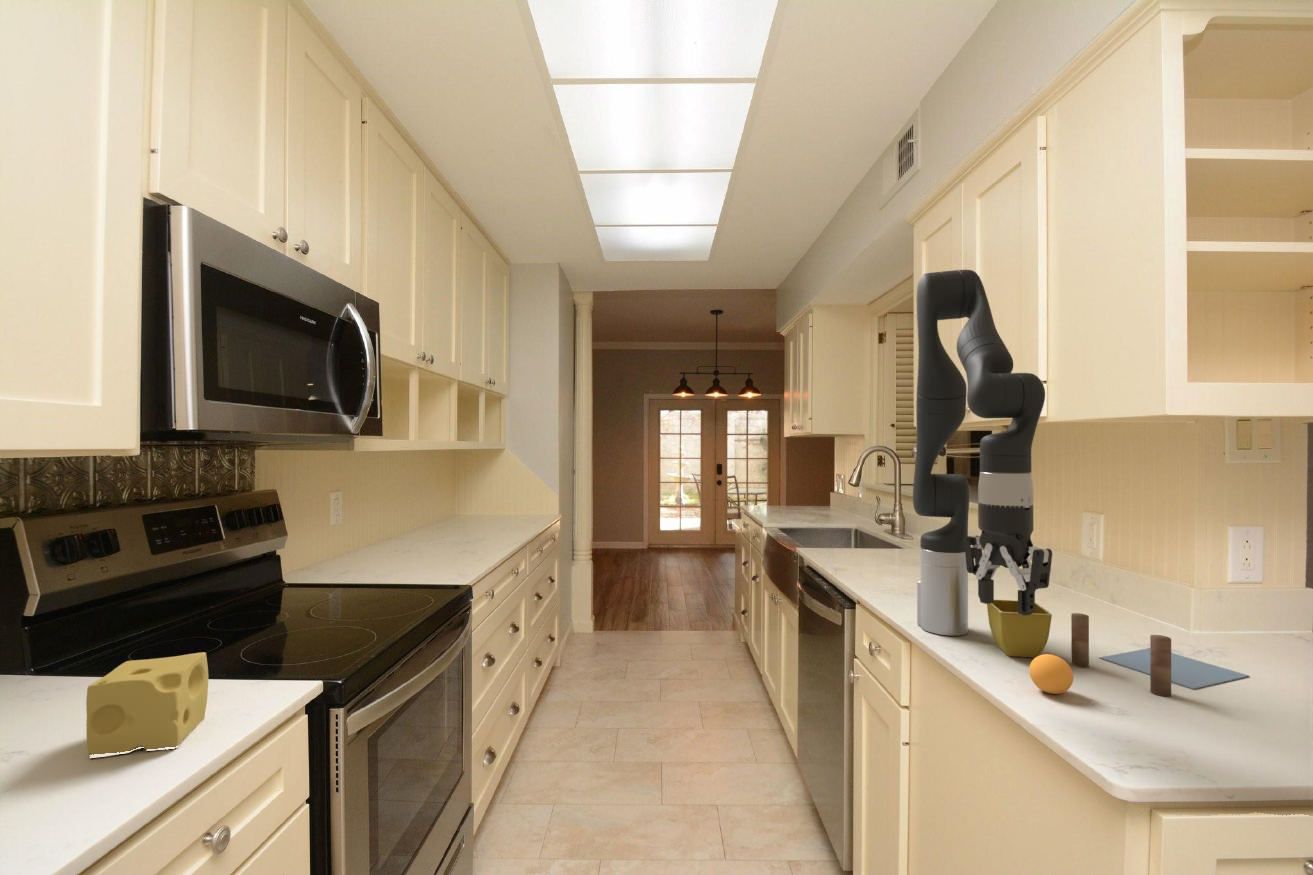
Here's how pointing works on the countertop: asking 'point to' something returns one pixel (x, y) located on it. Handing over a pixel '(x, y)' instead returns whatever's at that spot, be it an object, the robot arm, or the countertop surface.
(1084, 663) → the inner post
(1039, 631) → the flower pot
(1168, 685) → the outer post
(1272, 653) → the countertop surface
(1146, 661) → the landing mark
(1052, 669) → the ball
